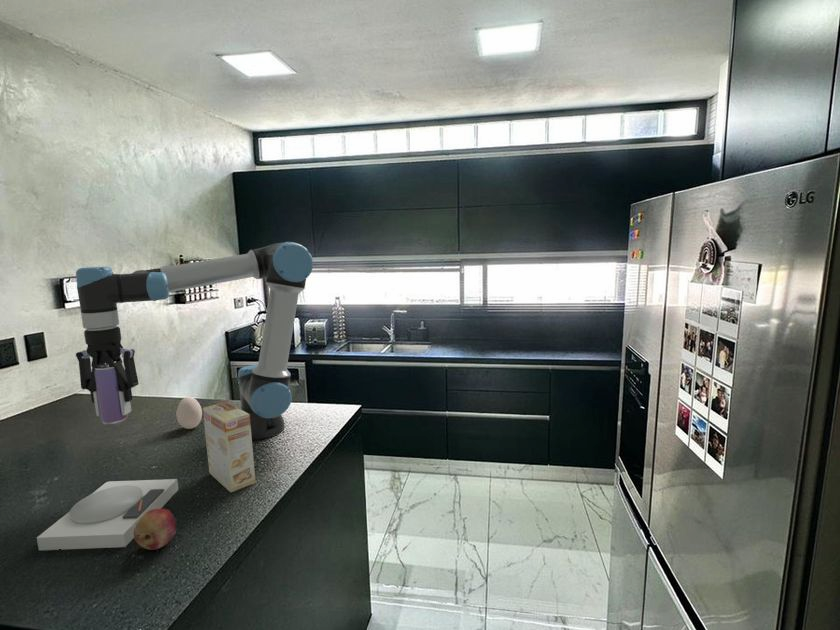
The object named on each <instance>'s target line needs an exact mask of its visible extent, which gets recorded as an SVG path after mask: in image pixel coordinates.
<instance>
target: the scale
mask: <svg viewBox="0 0 840 630" xmlns="http://www.w3.org/2000/svg"><path fill="white" fill-rule="evenodd" d="M178 483H179V482H178V479H177V478H169V479H167V478H166V479H146V480H145V479H143V480H141V479H140V480H118V481H117V480H114V481H113V480H112V481H110V480H109V481H106V482H104V484H102V485H100V487H98V488H97V489H95V491H94V492H92V493H91V494H89V495H87V496H85V497H84V498H82V499H80V500H79V501H76V503H75V504H74V505H73V506H71V508H70V510H69V511H68V512H67V513H66V514H64V515H63V516H62V517H61V518H59V519H58V520H57V521H56V522H55V523H53V524H52V525H50V526H49V527H48V528H47V529H45V530H44V531H42V533H40V535H38V536H37V537H36V541H37V546H38V547H37V548H38V551H55V550H56V551H57V550H58V551H60V550H59V549H61V551H62V550H85V549H86V550H87V549H105V548H106V549H107V548H108V549H109V548H110V549H112V548H126V547H127V546H128V544H129V543H131V541H132V540H134V539H135V538H134V529H135V527H136V524H137V522H138V521H139V520H140V519H141V518H142V517H143V515H144V514H145V513H147V512H148V511H150V510H153V509H163V507H164V506H165V505H166V503H168V501H170V500H171V498H172V497H173V496H174V495H175V494H176V493H177V492H178V490H179V484H178Z"/></svg>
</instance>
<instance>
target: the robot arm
mask: <svg viewBox="0 0 840 630" xmlns="http://www.w3.org/2000/svg"><path fill="white" fill-rule="evenodd" d="M313 268H314V259H313V256H312V254H311V253H310V251H309V250H308V249H307V247H305V246H304V245H302V244H300V243H297V242H293V241H286V242H278V243H277V242H276V243H272V244H270V245H267V246H264V247H260V248H255V249H250V250H249V251H248V252H246V253H244V254H238V255H232V256H231V255H230V256H225V257H218V258H213V259H207V260H201V261H193V262H188V263H183V264H175V265H169V266H163V267H159V268H150V269H145V270H144V269H140V270H135V271H134V272H130V273H114V272H113V270H112V269H113V268H112V267H110V266H90V267H89V266H87V267H79V268H78V269H76V271H75V276H76V277H75V278H76V279H75V280H76V289H77V290H76V291H77V295H78V301H79V306H80V307H79V308H80V312H81V314H80V315H81V323H82V327H83V328H84V329H85V330H84V331H83V334H84V341H85V344H86V345H87V347H86V349H83V350H81V351H79V352H76V353H75V357H76V360H77V361H78V369H79V378H80V388H81V390H88V391H89V392H90V397H91V398H90V399H91V400H90V401H91V403H92V404H94V407H95V413H96V414H95V415H96V417H100V410H99V403H98V397H97V390H96V383H95V376H94V370H95V369H94V367H95V368H97V367H102V366H103V365H104V364H108V365H109V367H114V369H115V370H116V377H117V380H118V383H119V385H120V387H121V390H120V391H119V397H120V405H121V412H122V415H126V414H128V415H129V413H131V412H132V406H131V401H132V400H133V393H132V392H133V391H132V388H135V387H136V386H138V385H139V379H138V373H137V368H136V363H135V353H136V350H135V349H134V348H131V349H127V348H124V346H123V345H122V344H121V342H122V333H121V328H120V327H119V324H120V320H119V313H118V305H117V304H123V303H135V302H137V303H138V302H139V303H141V302H157V301H162V300H167V299H168V298H170V297H169V296H170V293H173V292H178V291H184V290H188V289H195V288H198V287H199V288H200V287H204V286H209V285H211V286H212V285H215V284H216V285H217V284H221V283H227V282H233V281H239V280H244V279H248V278H254V279H256V280H260V279H265V284H266V285H267V286H268V288H269V293H268V300H267V301H268V302H267V306H266V307H267V308H266V313H265V320H264V325H263V332H262V339H261V344H260V345H261V346H260V351H259V358H258V363H257V364H253V365H252V364H251V365H247V366H244V367H241V368H239V369H238V372H237V373H238V374H237V379H238V388H239V397H240V398H239V399H240V409H241V410H243V411H245V412H246V413H248V414H250V425H251V436H252V441H253V440H263V439H268V438H271V437H274V436H277V435H279V434H280V433H282V432H283V431H284V430H285V420H284V417H283V415H282V414H284V413H285V412H286V411H287V410H288V409H289V407H290V406H291V403H292V397H293V396H292V392H291V389H290V384H291V383H290V382H291V376H292V375H291V372H290V371H289V370H288V363H289V362H288V361H289V357H290V350H291V346H292V339H293V333H294V332H293V331H294V327H295V326H294V325H295V319H296V312H297V306H298V302H299V301H298V300H299V295H300V293H301V292H303V291H304V290H305V289H306V281H307V278H308V277H309V276H310V275H311V273H312V271H313V270H314V269H313ZM91 359H92V360H91Z"/></svg>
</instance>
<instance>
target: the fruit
mask: <svg viewBox="0 0 840 630" xmlns="http://www.w3.org/2000/svg"><path fill="white" fill-rule="evenodd" d="M171 511H172V510H169V509H168V508H167V509H166V508H161V509H153V510H150V511H148V512H147V513H145V514H144V515H143V517H142V518H141V519H140V520H139V521H138V522H137V524H136V527H135V529H134V538H133V539H134V540H135V542H136V543H137V544H138V545H139V546H140V547H141V548H142V549H146V550H149V551H153V550H158V549H161V548H163V547H164V546H166V545H168V543H170V541H171V540H172V539H173V537H174V536H175V534H176V532H177V528H178V522H177V519H176V517H175V516H174V515H173V513H172V512H171Z"/></svg>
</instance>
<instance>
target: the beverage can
mask: <svg viewBox="0 0 840 630" xmlns="http://www.w3.org/2000/svg"><path fill="white" fill-rule="evenodd" d="M94 369H95V370H94V376H95V383H96V390H97V397H98V403H99V410H100V416H99V417H100V421H101V423H102V424H104V425H114V424H118V423H121V422H124V421H126V420H127V418H128V417H129V413H128V414H126V415H122V412H121V405H120V397H119V391H120V390H121V387H120V385H119V383H118V380H117V377H116V370H115V369H114V367H109V365H108V364H106V363H105V364H104V365H103V366H102V367H97V368H95V367H94Z"/></svg>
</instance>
